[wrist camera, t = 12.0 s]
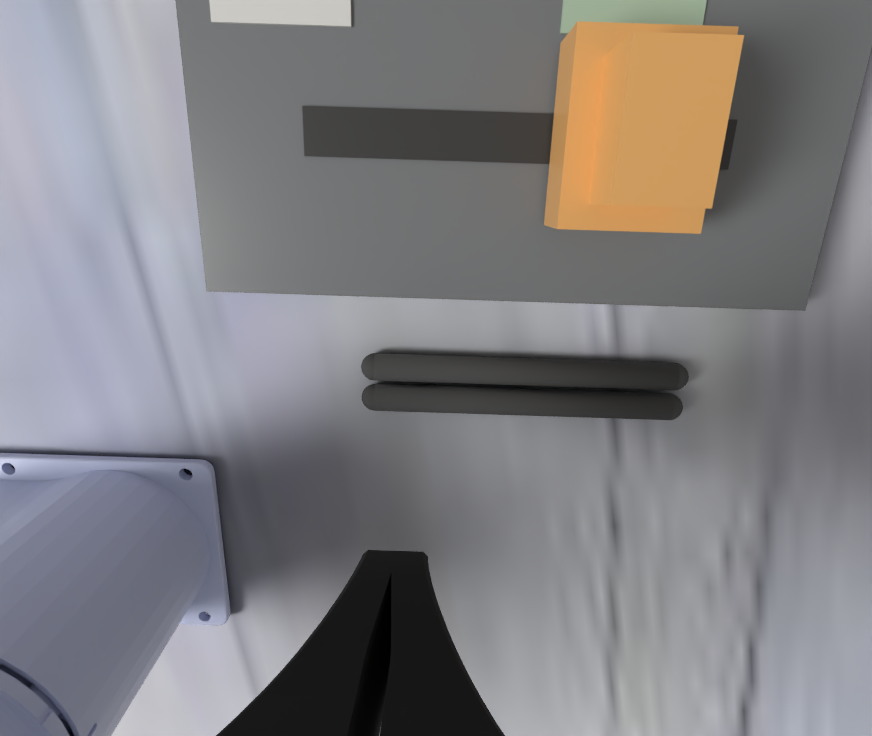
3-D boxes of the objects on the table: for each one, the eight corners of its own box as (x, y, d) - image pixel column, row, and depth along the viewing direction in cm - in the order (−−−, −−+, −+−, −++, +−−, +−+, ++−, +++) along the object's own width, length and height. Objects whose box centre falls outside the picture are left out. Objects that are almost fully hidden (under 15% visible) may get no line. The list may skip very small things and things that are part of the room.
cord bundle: (363, 403, 21) (360, 414, 20) (363, 349, 20) (359, 357, 19) (673, 414, 21) (684, 424, 20) (683, 359, 20) (695, 368, 19)
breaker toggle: (543, 224, 17) (574, 234, 13) (560, 43, 15) (600, -8, 11) (671, 229, 17) (739, 239, 13) (701, 47, 15) (789, -2, 11)
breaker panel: (224, 284, 19) (205, 291, 18) (192, -48, 16) (166, -73, 14) (778, 301, 19) (806, 311, 18) (855, -27, 16) (899, -49, 14)
